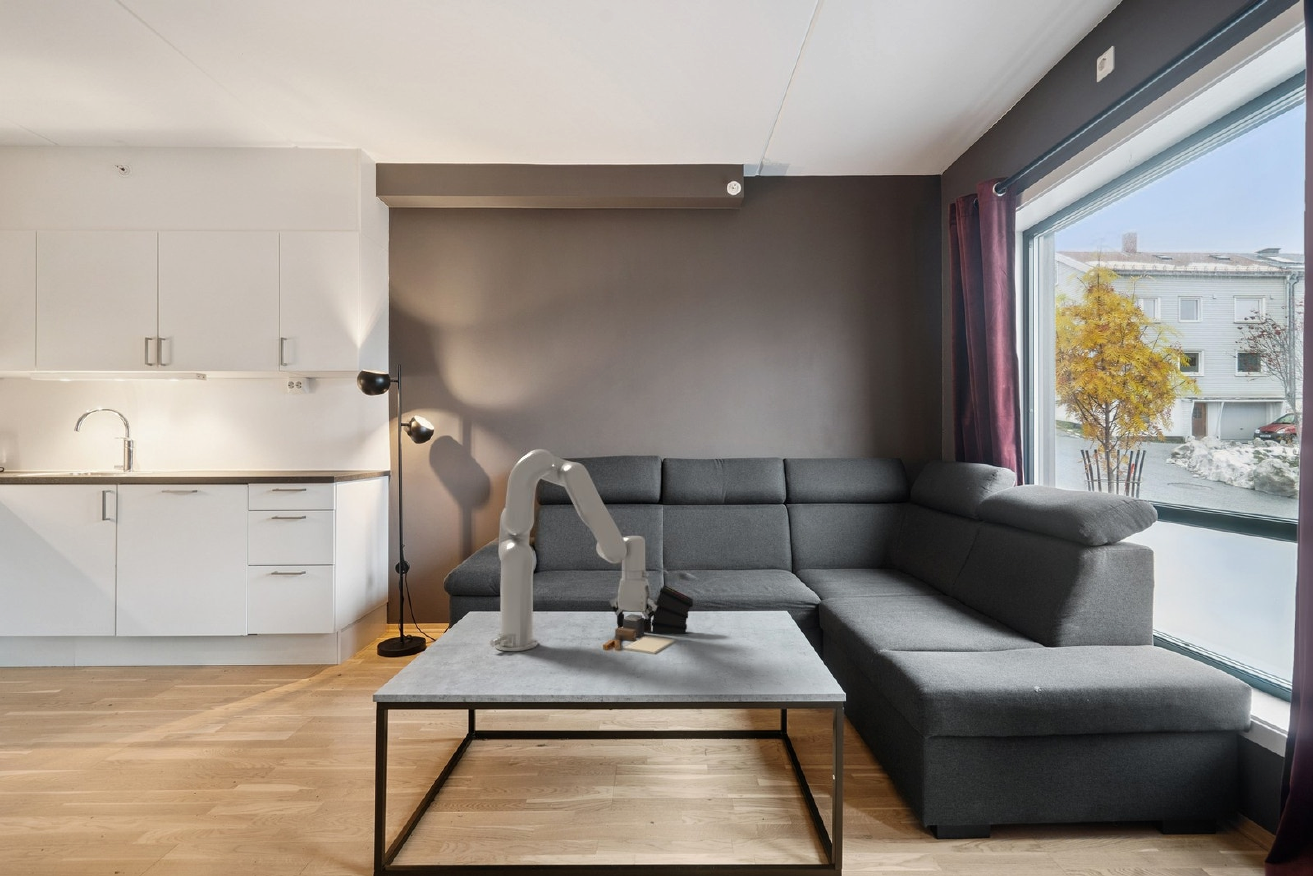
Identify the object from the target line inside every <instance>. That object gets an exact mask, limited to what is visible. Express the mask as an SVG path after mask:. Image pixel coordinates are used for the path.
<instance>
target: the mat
mask: <svg viewBox="0 0 1313 876" xmlns="http://www.w3.org/2000/svg"><path fill="white" fill-rule="evenodd" d="M675 642H676V639H673V638H667V637H666V638H665V637H658V636H653V635H645V636H642V637H641V638H639V639H636V641H635V640H634V641H632V642H631V643H630V644H628V645H626V646H624V647H623V651H624V650H625V651H631V652H636V653H637V652H638V653H645V654H651V655H655V654H657V653H658V652H660V651H662V650H663V649H665V648H667V647H668V646H670V645H672V644H673V643H675Z"/></svg>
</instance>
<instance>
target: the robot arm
mask: <svg viewBox="0 0 1313 876" xmlns="http://www.w3.org/2000/svg"><path fill="white" fill-rule="evenodd" d="M540 480H543V481H545V482H549V483H552V484H555V485H558V486H560V487H564V489H565V490H566V492H567V495H568V496H569V498H570V500H571V502H572V504H573V506H574V508H575V510H576V512H577V514H578V515H577V516H579V518H580V519H581V521H582V522H583V523H584V524H585V525H586V526H587V527H588V528H589V530H590V531H591V533H592V534H593V536H594V538H595V539H596V542H597V543H596V547H595V549H596V553H597V554H598V556H599V557H600V558H602V559H603V560H605V561H607V562H608V563H610V564H618V563H621V578H620V580H619V582H618V583H619V585H618V591H617V596H616V597H614V598H612V599H610V600H609V604H610V605H611V609H612V611H613V612H614V614H615V616H616V623H617V624H616V625H617V628H619V627H621V628H623V619H625V613H624V612H636V613H642V616H644V631H645V632H647V631H649V630H650V628H651V629H652V618H653V615H654V614H655V613H656V611H657V609H658V607H659V605H658V604H656V603H655V602H656V601H654V600H652V598H651V597H652V596H651V589H650V583H649V579H648V577H649V576H650V573H649V572H647V569H646V539H645V538H644V537H643V536H642V535H641V536H640V535H628V536H623V535H622V534H621V532H620V530H619V528H618V526H617V524H616V522H615V521H614V519H613V517H612V516H611V514H610V513H609V510H608V509H607V507H606V506H605V504H604V502H603V500H602V498H601V496H600V494H599V493H598V492H599V491H598V490H597V487H596V486H595V484H594V482H593V480H592V478H591V476H590V472H588V470H587V468H586V467H585V466H584V465H583V464H582V463H580V462H577V461H576V462H575V461H569V460H566V459H563V458H560V457H558V456H555V455H553V454H552V453H551V452H550V451H549V450H547V449H540V448H539V449H537V448H536V449H532V450H530V451H529V452H528V453H527V454H526V455H524V456H523V457H522V458H520V459H519V460H518V461H517V462H516V463H515V465H514V466H513V468H512V469H511V472H510V474H509V477H508V479H507V487H506V488H507V489H506V497H505V507H504V508H503V510H502V512H501V515H500V519H499V520H500V521H499V531H498V533H499V534H498V551H497V552H498V558H499V561H500V632H499V633H498V637H496V638H494V639H491V640H490V643H489V644H490V646H491V647H495V648H496V649H497V650H500V651H502V652H503V651H505V652H521V651H527V650H530V649H533V648H536V647H537V645H538V643H539V640H538V639H537V638H536V637H533V635H534V634H533V632H534V631H533V630H534V628H533V626H534V622H533V619H534V618H533V617H534V613H533V612H534V609H533V608H534V605H533V604H534V603H533V602H534V601H533V600H534V596H533V595H534V594H533V585H534V582H533V581H534V566H535V565H534V564H535V557H534V552H533V549H532V547H531V546H530V535H531V534H530V533H531V531H532V528H533V526H534V523H535V499H536V497H535V496H536V488H537V485H538V484H539V483H538V482H540ZM651 608H652V609H651ZM650 609H651V610H650ZM645 632H644V633H645Z"/></svg>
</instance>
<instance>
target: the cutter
mask: <svg viewBox="0 0 1313 876" xmlns="http://www.w3.org/2000/svg"><path fill="white" fill-rule="evenodd" d="M620 641H622V640H621V636H615V635H614V636H613V638H612V639H611V638H610V640H608V641H607V642H605V643H604V644H602V650H603V651H608V650H610V649H611V648H612V647H614V651H621V649H620V648H621V647H620Z"/></svg>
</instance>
